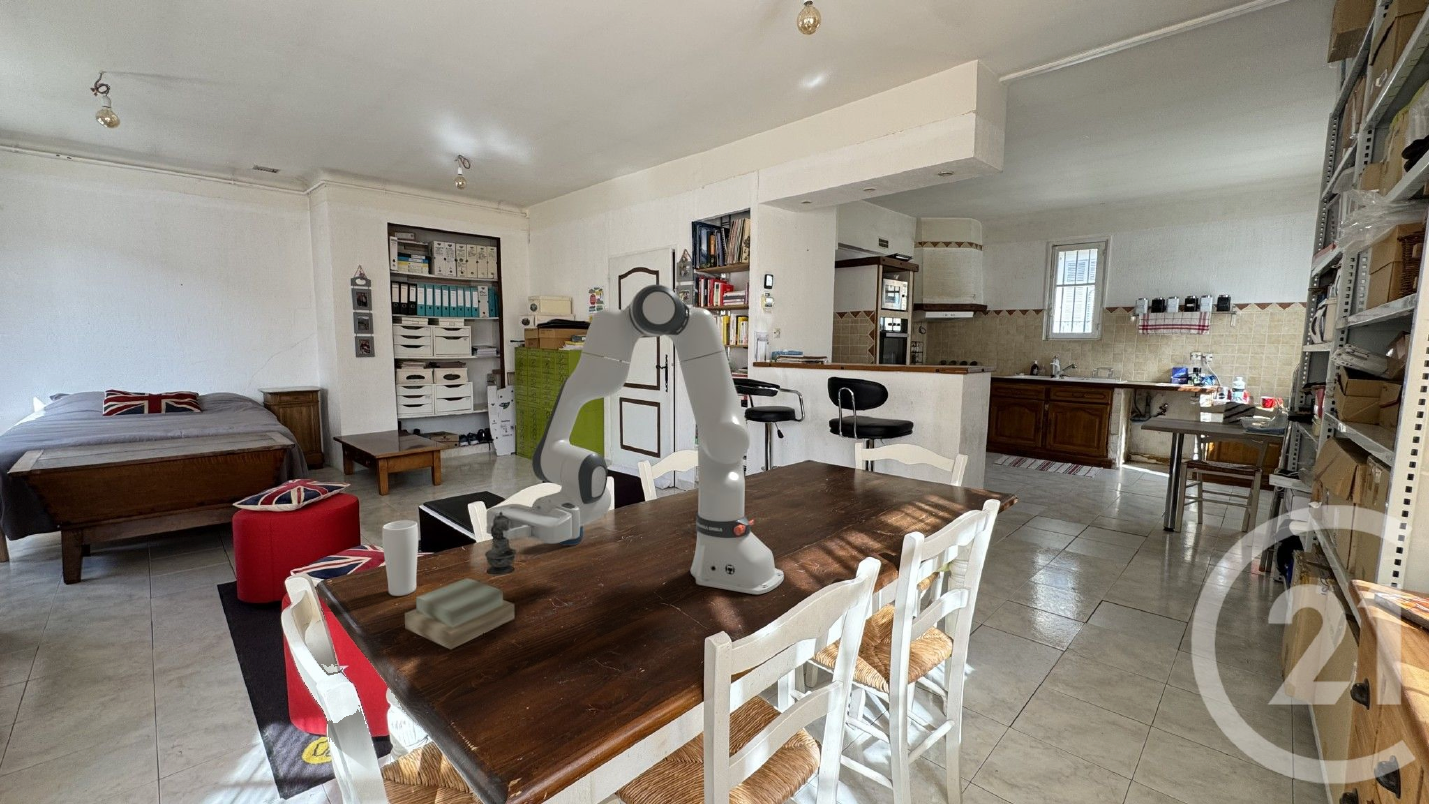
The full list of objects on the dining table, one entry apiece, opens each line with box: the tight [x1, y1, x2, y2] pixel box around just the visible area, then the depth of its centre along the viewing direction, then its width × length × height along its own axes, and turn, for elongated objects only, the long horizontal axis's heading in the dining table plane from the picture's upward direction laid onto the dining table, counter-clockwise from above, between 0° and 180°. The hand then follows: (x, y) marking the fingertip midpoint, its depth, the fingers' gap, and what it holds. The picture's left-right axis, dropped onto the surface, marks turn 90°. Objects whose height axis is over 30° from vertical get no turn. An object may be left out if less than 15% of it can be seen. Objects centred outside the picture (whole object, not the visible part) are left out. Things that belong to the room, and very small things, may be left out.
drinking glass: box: [382, 519, 419, 597], centre depth 126 cm, size 7×7×15 cm
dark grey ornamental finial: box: [484, 512, 517, 577], centre depth 115 cm, size 6×6×12 cm
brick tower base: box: [404, 577, 515, 650], centre depth 113 cm, size 14×14×6 cm
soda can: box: [559, 525, 584, 546], centre depth 159 cm, size 7×7×12 cm
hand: (497, 532), depth 114 cm, fingers closed on dark grey ornamental finial, 4 cm apart
